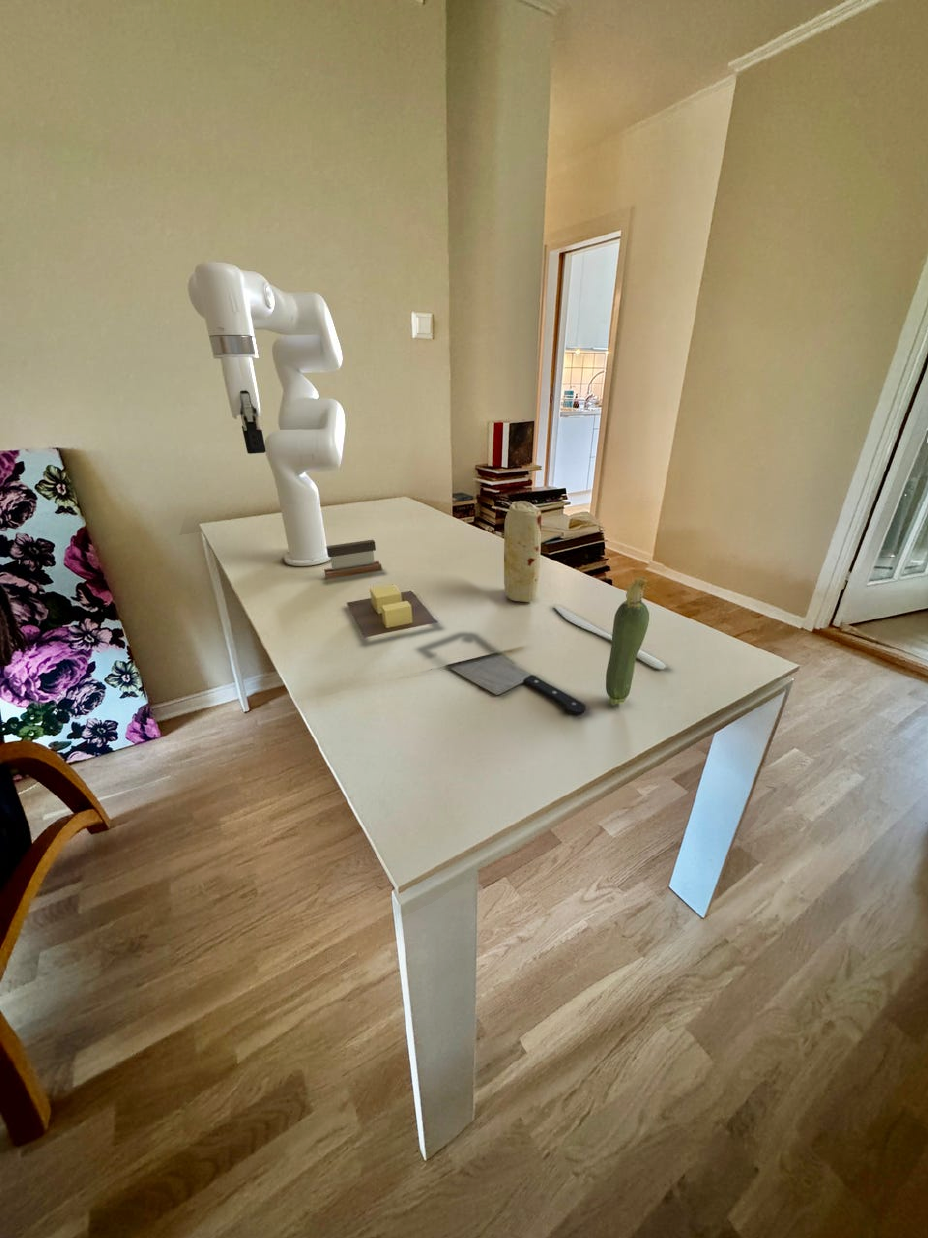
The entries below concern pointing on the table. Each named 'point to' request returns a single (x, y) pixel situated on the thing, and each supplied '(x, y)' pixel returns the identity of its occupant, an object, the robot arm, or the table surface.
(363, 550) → the cutter
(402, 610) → the butter pat
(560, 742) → the table surface
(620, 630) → the vegetable
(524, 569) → the food model
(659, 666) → the butter knife
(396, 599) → the butter stick
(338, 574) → the holder
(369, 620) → the board
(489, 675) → the cleaver
